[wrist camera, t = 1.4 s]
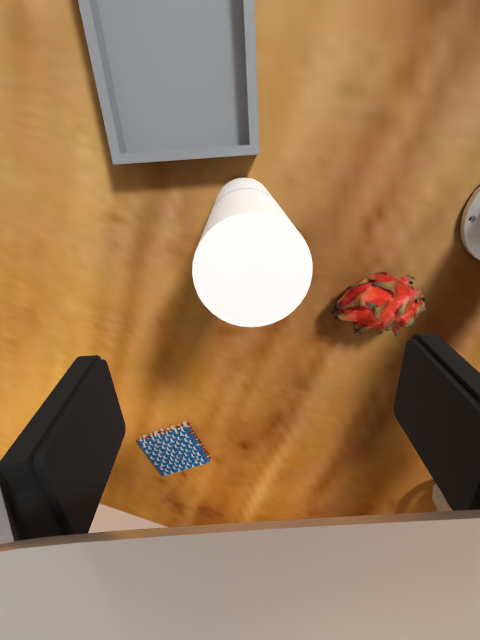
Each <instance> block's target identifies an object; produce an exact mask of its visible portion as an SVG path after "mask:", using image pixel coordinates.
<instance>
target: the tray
mask: <svg viewBox="0 0 480 640" xmlns="http://www.w3.org/2000/svg"><path fill="white" fill-rule="evenodd" d="M78 3H79V8H80V12H81V17H82V22H83V26H84V31H85V36H86V40H87V45H88V50H89V54H90V59H91V64H92V68H93V73H94V78H95V82H96V87H97V92H98V97H99V101H100V106H101V111H102V115H103V120H104V125H105V129H106V134H107V139H108V143H109V148H110V153H111V157H112V162H113V165H115V164H130V163H144V162H158V161H172V160H186V159H201V158H215V157H229V156H243V155H258V154H259V126H258V96H257V65H256V35H255V4H254V0H78Z"/></svg>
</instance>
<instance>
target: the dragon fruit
mask: <svg viewBox="0 0 480 640" xmlns="http://www.w3.org/2000/svg"><path fill="white" fill-rule="evenodd" d="M414 280H415V278H413V277H411V276H408V275H407V276H403V277H402V278H399V279H396V278H394V277H392V276H391V275H389V274H388V273H386V272H378V273H375V274H372V275H370V276H369V277H367V278H365V279H362V280H360V281H358V282H357V283H355V284H354V285H352V286H350V287H348V288H347V290H346V291H344V293H343V296H342V297H341V298H340V299H339V300H338V301H337V303H336V305H335V307H334V310H333V311H332V314H334V313H335V312H336V311H339V312H337V316H335V318H337V319H339V320H341V321H345V322H353V323H354V328H355V329H354V330H355V331H356V332H354V334H358V335H359V334H362V333H360V332H367V331H368V330H370V329H372V328H376V333H377V334H382V332H383V330H386V331H389V330H393V332H394V334H395V336H398V335H400V326H401V327H411V326H412V324H413V323H414V320H416V319H418V318H419V316H420V315H421V313H422V312H423V311H425V303H424V302H423V301H424V300H425V298H424V296H423V295H422V294H421V292H420V290H418V289H414V288H413V287H412V286H411V285H410V283H411V284H413V283H414ZM420 298H422V299H423V301H420V300H419V299H420ZM365 326H366V328H362V327H365ZM359 328H360V329H359ZM358 329H359V330H358Z"/></svg>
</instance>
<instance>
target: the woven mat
mask: <svg viewBox="0 0 480 640" xmlns="http://www.w3.org/2000/svg"><path fill="white" fill-rule="evenodd" d="M182 423H183V424H182V425H180V424H177V425H178V427H175V426H174V425H172V426H171V430H170V428H166V430H167V431H164V430H163V428H160V429H159V430H160V431H161V432H157V431H154V434H153V433H149V434H150V435H151V436H147V435H146V434H144V435H143V438H142V437H141V436H140V437H138V438H139V440H137V441H136V442H137V443H138V444H139V446H140V445H141V446H140V448H142V450H143V451H144V453H145V454H146V455H147V456H148V457H149V458H148V459H149V460H150V461H151V462H152V464H153V465H155V467H156V468H158V469H157V471H159V470H160V471H159V473H160V474H161V476H164V475H167V476H168V475H169V474H170V473H172V474H173V472H175V473H176V472H177V473H178V471H180V472H181V471H183V470H184V469H185V468H186V469H188V468H189V469H190V468H192V467H194V466H199V465H203V464H206V463H207V462H208V461H210V459H211V458H210V457H209V456H208V455H209V453H207V451H205V448H203V445H201V444H202V442H201V441H200V440H199V439H197V438H198V437H197V436H196V434H195V433H194V430H192V427H190V423H188V422H187V423H186V421H185V422H182ZM181 435H182V436H181ZM195 445H196V446H195ZM201 451H202V452H201ZM161 470H162V471H161Z"/></svg>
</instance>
